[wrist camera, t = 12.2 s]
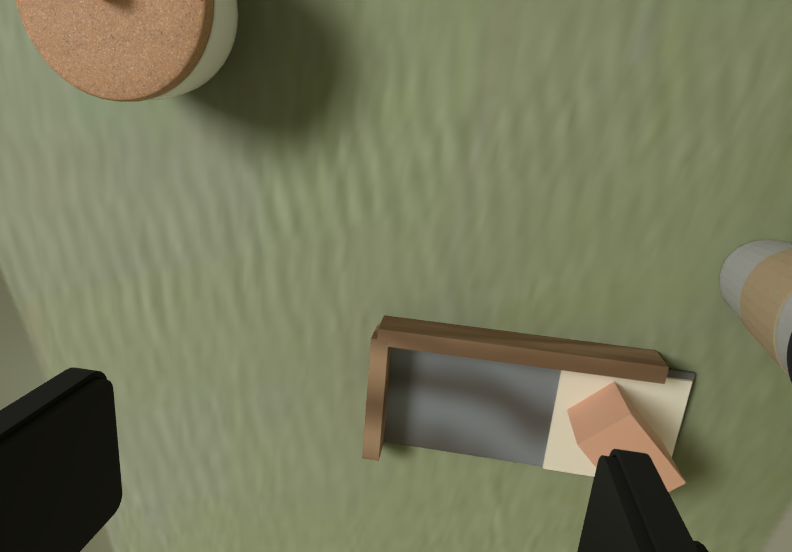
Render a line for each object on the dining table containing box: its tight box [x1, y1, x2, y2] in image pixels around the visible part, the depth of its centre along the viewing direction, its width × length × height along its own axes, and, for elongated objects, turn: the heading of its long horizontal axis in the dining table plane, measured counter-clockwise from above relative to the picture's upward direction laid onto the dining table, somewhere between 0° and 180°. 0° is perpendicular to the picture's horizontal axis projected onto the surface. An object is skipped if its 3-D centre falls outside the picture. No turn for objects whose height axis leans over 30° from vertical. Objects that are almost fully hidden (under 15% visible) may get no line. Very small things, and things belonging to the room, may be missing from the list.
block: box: [567, 382, 686, 492], centre depth 42 cm, size 7×4×5 cm, turn 40°
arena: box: [363, 316, 695, 466], centre depth 44 cm, size 12×26×3 cm, turn 85°
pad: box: [543, 370, 692, 476], centre depth 44 cm, size 10×10×1 cm
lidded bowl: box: [15, 0, 238, 101], centre depth 35 cm, size 13×13×11 cm
